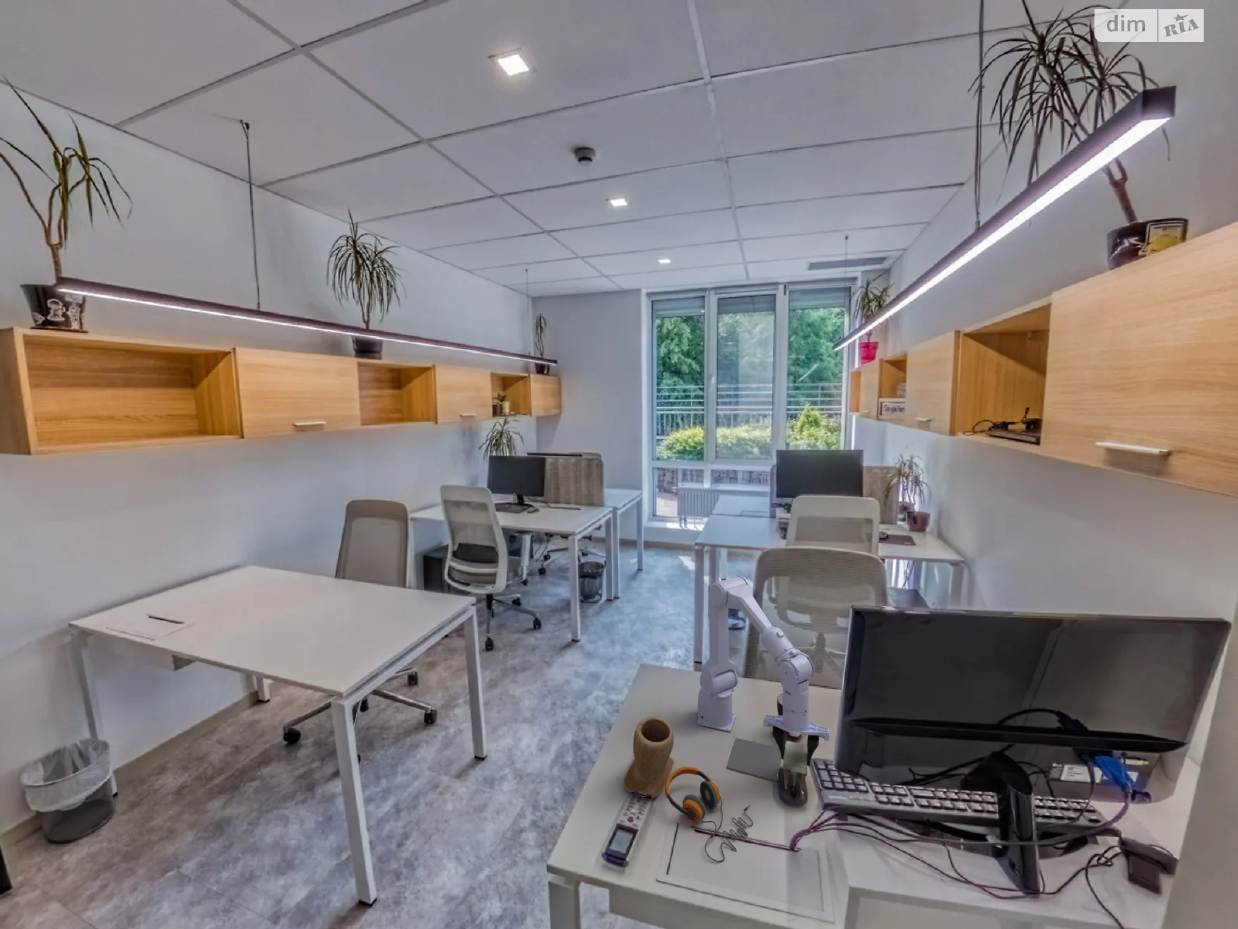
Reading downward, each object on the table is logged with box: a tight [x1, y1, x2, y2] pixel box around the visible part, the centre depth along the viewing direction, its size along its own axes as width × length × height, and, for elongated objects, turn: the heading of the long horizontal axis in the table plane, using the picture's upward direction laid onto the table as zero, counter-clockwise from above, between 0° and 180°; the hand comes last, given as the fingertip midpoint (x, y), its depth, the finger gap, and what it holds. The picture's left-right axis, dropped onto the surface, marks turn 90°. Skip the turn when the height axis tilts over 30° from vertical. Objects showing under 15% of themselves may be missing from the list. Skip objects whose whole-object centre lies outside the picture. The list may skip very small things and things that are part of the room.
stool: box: [782, 740, 808, 795], centre depth 115 cm, size 5×8×7 cm, turn 156°
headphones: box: [664, 766, 754, 863], centre depth 107 cm, size 17×5×20 cm
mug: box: [776, 692, 803, 741], centre depth 131 cm, size 10×8×10 cm
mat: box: [726, 737, 782, 783], centre depth 123 cm, size 12×12×1 cm
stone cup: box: [622, 716, 675, 798], centre depth 117 cm, size 15×12×15 cm
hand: (795, 760), depth 115 cm, fingers closed on stool, 5 cm apart
